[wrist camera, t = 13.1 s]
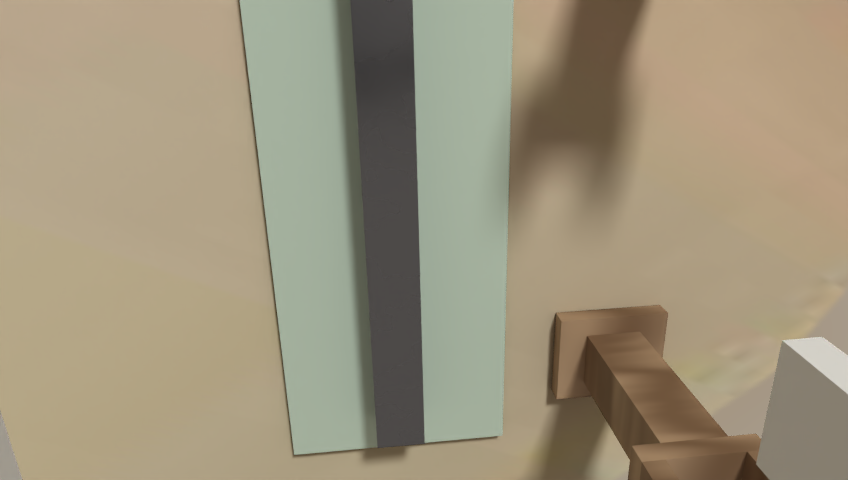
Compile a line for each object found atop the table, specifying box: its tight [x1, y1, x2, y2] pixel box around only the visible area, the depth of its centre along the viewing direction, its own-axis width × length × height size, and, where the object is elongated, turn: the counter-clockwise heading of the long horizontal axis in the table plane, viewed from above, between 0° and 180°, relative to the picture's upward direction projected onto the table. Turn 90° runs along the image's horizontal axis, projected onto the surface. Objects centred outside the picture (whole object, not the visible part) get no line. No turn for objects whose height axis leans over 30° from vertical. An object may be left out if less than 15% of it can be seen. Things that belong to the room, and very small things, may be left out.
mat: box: [240, 0, 514, 455], centre depth 32 cm, size 12×34×1 cm, turn 1°
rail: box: [350, 0, 425, 448], centre depth 30 cm, size 2×30×2 cm, turn 1°
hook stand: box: [552, 305, 769, 480], centre depth 27 cm, size 6×29×14 cm, turn 1°
